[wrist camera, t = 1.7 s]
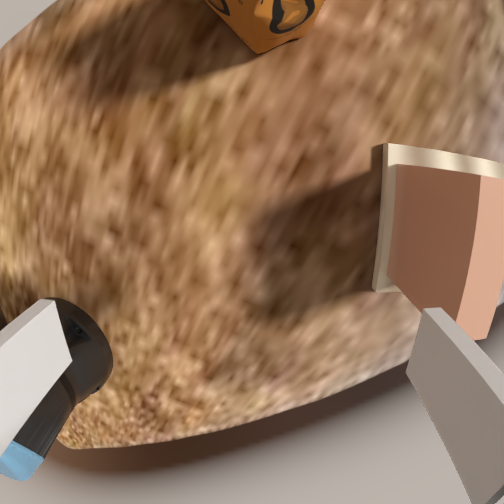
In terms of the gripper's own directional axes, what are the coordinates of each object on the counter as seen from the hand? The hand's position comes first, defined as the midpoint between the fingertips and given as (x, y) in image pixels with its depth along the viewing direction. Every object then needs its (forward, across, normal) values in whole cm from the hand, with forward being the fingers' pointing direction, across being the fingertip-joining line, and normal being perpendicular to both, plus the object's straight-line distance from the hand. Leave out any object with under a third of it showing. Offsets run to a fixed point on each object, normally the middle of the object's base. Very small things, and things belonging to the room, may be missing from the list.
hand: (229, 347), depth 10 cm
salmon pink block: (+22, +17, 0) cm, 27 cm away
